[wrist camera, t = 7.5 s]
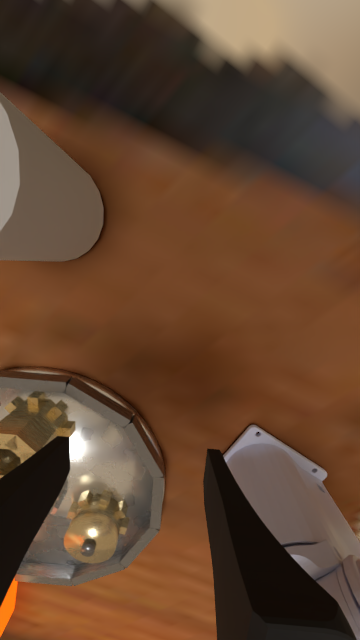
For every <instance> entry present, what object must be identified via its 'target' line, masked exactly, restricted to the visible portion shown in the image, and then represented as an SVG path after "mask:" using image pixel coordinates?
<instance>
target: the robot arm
mask: <svg viewBox="0 0 360 640" xmlns="http://www.w3.org/2000/svg"><path fill="white" fill-rule="evenodd" d="M257 432H259V433H258V434H256V433H257ZM314 468H315V469H314ZM69 472H70V440H69V437H65V436H57V437H56V438H54V439H53V440H52V441H50V442H49V443H48V444H46V445H45V446H44V447H43V448H41V449H40V450H39V451H37V452H36V453H35V454H33V455H32V456H31V457H29V458H28V459H27V460H25V461H24V462H23V463H21V464H20V465H19V466H17V467H16V468H15V469H13V470H12V471H10V472H9V473H7V474H6V475H5V476H3V477H2V478H0V607H1V605H2V603H3V601H4V599H5V596H6V594H7V592H8V590H9V588H10V586H11V583H12V581H13V579H14V577H15V575H16V573H17V571H18V569H19V567H20V565H21V562H22V560H23V558H24V556H25V554H26V552H27V551H28V549H29V547H30V545H31V543H32V541H33V540H34V538H35V536H36V534H37V533H38V531H39V529H40V527H41V526H42V524H43V522H44V520H45V519H46V517H47V515H48V513H49V512H50V510H51V508H52V506H53V505H54V503H55V501H56V499H57V497H58V496H59V494H60V492H61V490H62V488H63V486H64V483H65V481H66V479H67V476H68V474H69ZM326 477H327V472H326V471H325V470H324V469H323V468H321V467H320V466H318V465H317V464H315V463H314V462H312V461H311V460H309V459H307V458H306V457H304V456H303V455H301V454H300V453H298V452H297V451H295V450H294V449H292V448H290V447H289V446H287V445H286V444H284V443H283V442H281V441H280V440H278V439H276V438H275V437H273V436H272V435H270V434H269V433H267V432H266V431H264V430H263V429H261V428H259V427H258V426H256V425H250V426H249V427H248V428H247V429H246V430H245V431H244V433H243V434H242V435H241V436H240V437H239V438H238V439H237V441H236V442H235V443H234V444H233V445H232V446H231V447H230V448H229V450H228V451H227V452H226V453H225V454H224V455H222V453H221V451H220V450H216V449H207V457H206V465H205V473H204V481H203V482H204V505H205V512H206V520H207V527H208V535H209V542H210V549H211V557H212V565H213V576H214V592H215V608H216V626H217V640H360V542H359V540H358V539H357V537H356V536H355V534H354V532H353V531H352V529H351V528H350V526H349V524H348V523H347V521H346V520H345V518H344V516H343V515H342V513H341V512H340V510H339V508H338V507H337V505H336V504H335V502H334V500H333V499H332V497H331V496H330V494H329V492H328V491H327V489H326V488H325V486H324V484H323V483H322V481H323V480H324V479H325V478H326Z"/></svg>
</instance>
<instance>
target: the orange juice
mask: <svg viewBox="0 0 360 640" xmlns="http://www.w3.org/2000/svg"><path fill="white" fill-rule="evenodd" d="M17 583H18V581H15V578H14V579H13V581H12V583H11V586H10V588H9V590H8V592H7V594H6V596H5V599H4V601H3V603H2V605H1V607H0V637H1V635H2V633H3V631H4V629H5V627H6V625H7V623H8V621H9V619H10V616H11V614H12V612H13V610H14V607H15V599H16V591H17Z"/></svg>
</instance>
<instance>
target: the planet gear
mask: <svg viewBox="0 0 360 640" xmlns="http://www.w3.org/2000/svg"><path fill="white" fill-rule="evenodd" d="M67 407H68V406H67V405H66V404H65V403H64V402H63V401H62V400H60V401H59V402H58V403H57V404H55V403H54V402H53V401H52V400H50V399H45V393H44V392H38V391H34V392H33V393H32V394H31V395H29V396H28V397H27V399H26V400H25V401H23V400H22V399H21V398H20V397H19V396H18V397H16V398H15V399H14V400H13V401H11V402H10V403H9V404H8V405H7V406H6V407H4V408H5V409H6V410H7V411H8V412H9V413H10V414H9V415H7V416H5V417H4V418H3V419H2V420H1V421H0V478H2V477H3V476H5V475H6V474H7V473H9V472H10V471H12V470H13V469H15V468H16V467H17V466H19V465H20V464H21V463H23V462H24V461H25V460H27V459H28V458H29V457H31V456H32V455H33V454H35V453H36V452H37V451H39V450H40V449H41V448H43V447H44V446H45V445H46V444H48V443H49V442H50V441H52V440H53V439H54V438H56V437H57V436H65V437H71V436H72V434H73V433H74V431H75V421H68V415H67V414H66V413H65V412H64V411H65V410H66V409H67ZM13 452H14V453H15V454H16V455H17V456H16V455H15V454H14V453H13Z"/></svg>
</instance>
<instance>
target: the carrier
mask: <svg viewBox="0 0 360 640" xmlns="http://www.w3.org/2000/svg"><path fill="white" fill-rule="evenodd" d="M34 391H38V392H44V393H45V399H50V400H52V401H53V402H54V403H55V404H57V403H58V402H59V401H60V400H62V401H63V402H64V403H65V404H66V405H67V406H68V407H67V409H66V410H65V411H64V412H65V413H66V414H67V415H68V421H75V431H74V433H73V434H72V436H71V437H69V440H70V472H69V474H68V476H67V479H66V481H65V483H64V486H63V488H62V490H61V492H60V494H59V496H58V497H57V499H56V501H55V503H54V505H53V506H52V508H51V510H50V512H49V513H48V515H47V517H46V519H45V520H44V522H43V524H42V526H41V527H40V529H39V531H38V533H37V534H36V536H35V538H34V540H33V541H32V543H31V545H30V547H29V549H28V551H27V552H26V554H25V556H24V558H23V560H22V562H21V565H20V567H19V569H18V571H17V573H16V575H15V577H14V578H15V581H20V582H32V583H43V584H54V585H66V586H72V585H74V586H75V585H78V584H81V583H84V582H87V581H90V580H93V579H97V578H100V577H103V576H106V575H109V574H112V573H115V572H118V571H121V570H124V569H125V568H127V567H128V566H129V565H130V564H131V562H132V561H133V560H134V559H135V558H136V557H137V556H138V555H139V553H140V552H141V551H142V550H143V549H144V548H145V547H146V546H147V544H148V543H149V542H150V541H151V540H152V539H153V538H154V537H155V535H156V534H157V533H158V532H159V529H160V524H161V513H162V503H163V497H164V490H165V465H164V461H163V457H162V454H161V450H160V447H159V445H158V442H157V440H156V438H155V436H154V434H153V432H152V431H151V429H150V428H149V426H148V425H147V423H146V422H145V420H144V419H143V418H142V417H141V416H140V415H139V413H138V412H137V411H136V410H135V409H134V408H133V407H132V406H131V405H130V404H129V403H128V402H126V401H125V400H124V399H123V398H122V397H120V396H119V395H118V394H116V393H115V392H113V391H112V390H110V389H109V388H107V387H105V386H103V385H102V384H100V383H98V382H96V381H94V380H92V379H89V378H87V377H84V376H82V375H79V374H76V373H72V372H68V371H65V370H61V369H54V368H47V367H20V368H11V369H6V370H2V371H0V421H1V420H2V419H3V418H4V417H5V416H7V415H9V414H10V413H9V412H8V411H7V410H6V409H5V408H4V407H6V406H7V405H8V404H9V403H10V402H11V401H13V400H14V399H15V398H16V397H18V396H19V397H20V398H21V399H22V400H23V401H25V400H26V399H27V397H28V396H29V395H31V394H32V393H33V392H34ZM13 453H14V452H13ZM14 454H15V453H14ZM15 455H16V454H15ZM16 456H17V455H16Z"/></svg>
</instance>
